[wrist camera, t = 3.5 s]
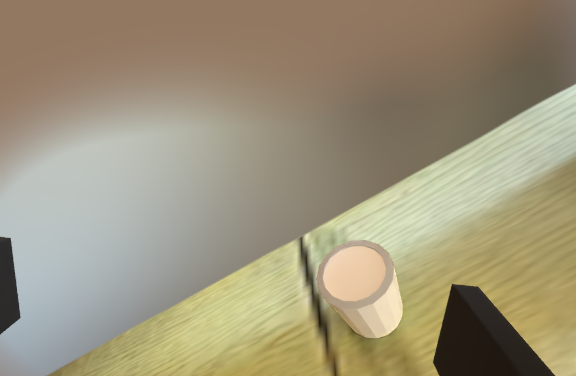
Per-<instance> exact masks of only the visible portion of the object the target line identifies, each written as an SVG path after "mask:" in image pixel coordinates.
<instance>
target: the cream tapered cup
mask: <svg viewBox="0 0 576 376" xmlns="http://www.w3.org/2000/svg"><path fill="white" fill-rule="evenodd" d="M317 284H318V288H319V292H320V293H321V295H322V296H323V297H324V298H325V299H326V301H327V302H328V303H329V304H330V305H331V306H332V307H333V309H334V310H335V311H336V312H337V313H338V314H339V315H340V316H341V317H342V318H343V319H344V321H345V322H346V323H347V324H348V325H349V326H350V327H351V328H352V329H353V330H354V332H355V333H357V334H359V335H361V336H363V337H365V338H380V337H383V336H386V335H389V334H390V333H391V332H392V331H393V330H394V329H396V328H397V327H398V325H399V323H400V321H401V319H402V313H403V305H402V300H401V296H400V291H399V286H398V282H397V277H396V273H395V268H394V264H393V262H392V260H391V257H390V255H389V253H388V252H387V251H386V250H385V249H383V248H382V247H381V246H380V245H379V244H376V243H373V242H369V241H366V240H360V241H350V242H347V243H344V244H342V245H339V246H337V247H336V248H335V249H333V250H332V251H331V252H330V253H328V254H327V255H326V257H325V258H324V260H323V261H322V263H321V264H320V266H319V270H318V274H317Z"/></svg>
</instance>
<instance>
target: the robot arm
mask: <svg viewBox="0 0 576 376" xmlns="http://www.w3.org/2000/svg"><path fill="white" fill-rule="evenodd" d="M18 319H20V310H19V302H18V294H17V286H16V278H15V270H14V262H13V254H12V246H11V238H5V237H0V334H1V333H3V331H5V330H6V329H7V328H9V327H10V326H11V325H12V324H13V323H15V322H16V321H17V320H18ZM433 363H434V365H435V367H436V369H437V372H438V374H439V376H555V375H554V374H553V373H552V372H551V370H550V369H549V368H548V367H547V366H546V365H545V364H544V362H543V361H542V360H541V359H540V358H539V357H538V355H537V354H536V353H535V352H534V351H533V350H532V348H531V347H530V346H529V345H528V344H527V343H526V342H525V340H524V339H523V338H522V337H521V336H520V335H519V333H518V332H517V331H516V330H515V329H514V328H513V326H512V325H511V324H510V323H509V322H508V321H507V320H506V318H505V317H504V316H503V315H502V314H501V313H500V311H499V310H498V309H497V308H496V307H495V306H494V305H493V303H492V302H491V301H490V300H489V299H488V298H487V296H486V295H485V294H484V293H483V292H482V291H481V289H480V288H479V287H474V286H465V285H455V284H452V286H451V291H450V295H449V299H448V303H447V307H446V311H445V315H444V319H443V323H442V327H441V332H440V336H439V340H438V344H437V348H436V352H435V356H434V360H433Z"/></svg>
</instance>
